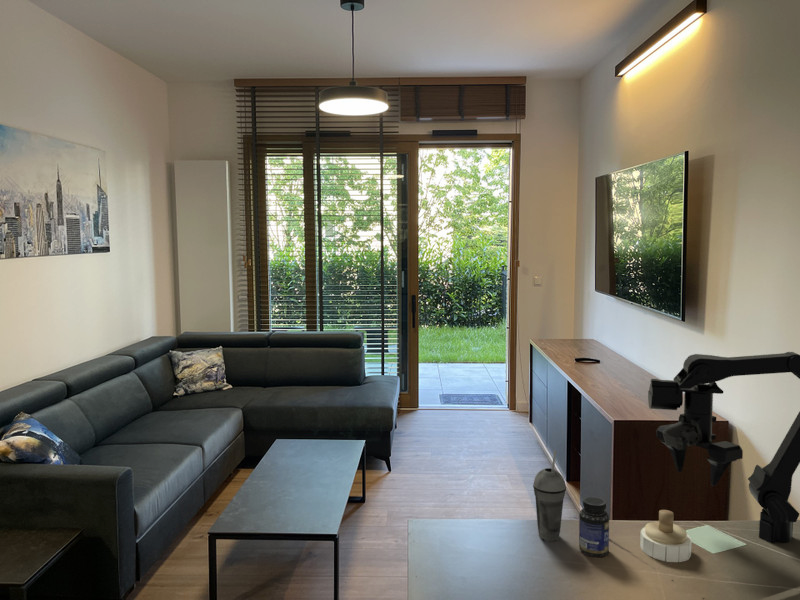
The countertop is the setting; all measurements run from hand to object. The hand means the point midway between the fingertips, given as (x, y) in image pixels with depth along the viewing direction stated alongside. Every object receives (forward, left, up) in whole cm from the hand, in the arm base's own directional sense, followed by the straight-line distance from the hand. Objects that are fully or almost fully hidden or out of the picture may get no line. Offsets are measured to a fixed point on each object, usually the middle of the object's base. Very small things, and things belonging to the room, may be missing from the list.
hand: (696, 478), depth 134 cm
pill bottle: (+27, -2, -13) cm, 30 cm away
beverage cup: (+32, -11, -13) cm, 36 cm away
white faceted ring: (+14, +5, -12) cm, 19 cm away
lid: (+14, +5, -8) cm, 17 cm away
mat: (+1, +5, -12) cm, 13 cm away
